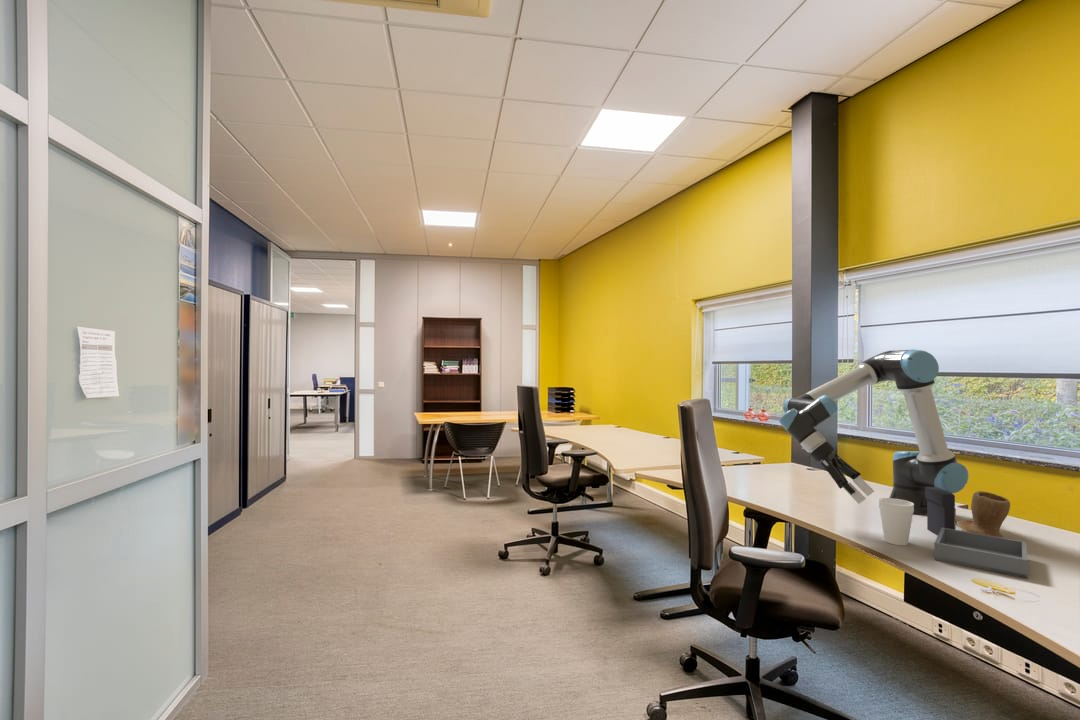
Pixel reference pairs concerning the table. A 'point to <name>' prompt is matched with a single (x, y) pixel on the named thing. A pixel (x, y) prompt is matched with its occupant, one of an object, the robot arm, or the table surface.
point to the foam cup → (896, 520)
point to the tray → (982, 552)
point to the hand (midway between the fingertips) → (867, 497)
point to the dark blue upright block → (940, 509)
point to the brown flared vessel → (986, 514)
